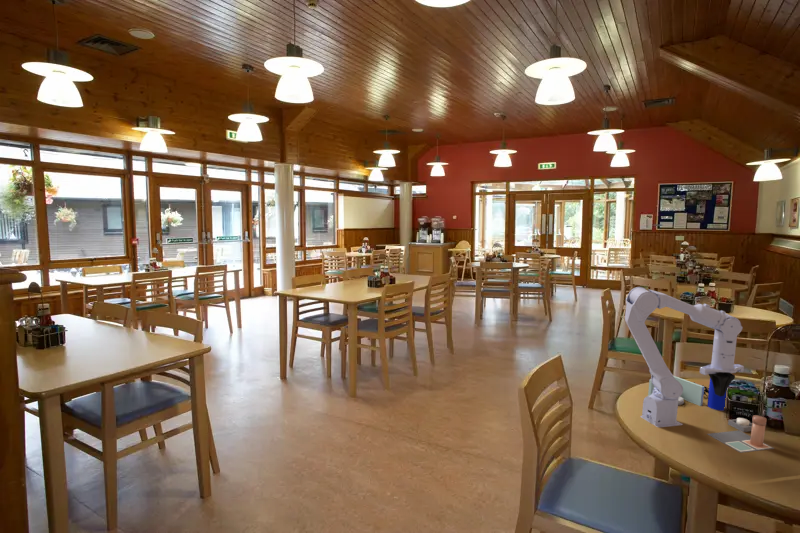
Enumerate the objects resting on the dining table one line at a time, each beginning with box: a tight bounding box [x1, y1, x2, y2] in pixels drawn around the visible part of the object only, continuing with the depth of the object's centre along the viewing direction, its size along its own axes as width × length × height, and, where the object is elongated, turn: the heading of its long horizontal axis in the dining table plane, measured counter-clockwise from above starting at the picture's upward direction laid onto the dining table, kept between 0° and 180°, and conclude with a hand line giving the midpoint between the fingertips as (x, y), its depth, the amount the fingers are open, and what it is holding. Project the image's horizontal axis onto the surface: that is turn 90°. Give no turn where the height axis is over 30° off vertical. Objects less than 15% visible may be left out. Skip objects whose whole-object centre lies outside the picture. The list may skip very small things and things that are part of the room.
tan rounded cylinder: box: [750, 414, 768, 447], centre depth 135 cm, size 3×3×8 cm
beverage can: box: [707, 377, 727, 412], centre depth 160 cm, size 5×5×15 cm
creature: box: [692, 381, 709, 399], centre depth 172 cm, size 8×5×8 cm
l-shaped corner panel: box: [647, 375, 705, 407], centre depth 166 cm, size 12×12×8 cm
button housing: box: [727, 418, 752, 433], centre depth 146 cm, size 5×5×2 cm
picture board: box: [706, 429, 775, 454], centre depth 138 cm, size 12×11×1 cm
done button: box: [736, 417, 751, 427], centre depth 146 cm, size 3×3×2 cm
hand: (719, 395), depth 146 cm, fingers closed
